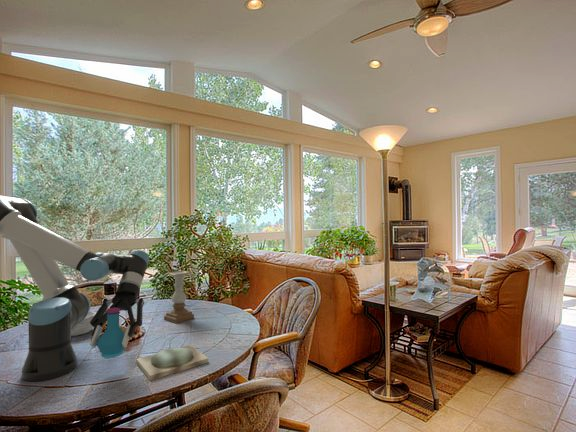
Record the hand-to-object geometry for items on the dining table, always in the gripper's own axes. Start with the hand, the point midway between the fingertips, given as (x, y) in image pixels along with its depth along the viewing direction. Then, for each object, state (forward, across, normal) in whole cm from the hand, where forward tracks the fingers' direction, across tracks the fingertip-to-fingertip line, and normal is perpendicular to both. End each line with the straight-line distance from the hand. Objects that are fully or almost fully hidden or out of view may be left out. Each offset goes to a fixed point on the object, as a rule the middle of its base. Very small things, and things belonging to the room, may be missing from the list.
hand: (108, 345), depth 105 cm
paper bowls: (-24, +34, -39) cm, 57 cm away
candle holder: (-36, -7, -50) cm, 62 cm away
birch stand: (+1, -18, -13) cm, 22 cm away
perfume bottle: (+1, 0, -5) cm, 5 cm away
